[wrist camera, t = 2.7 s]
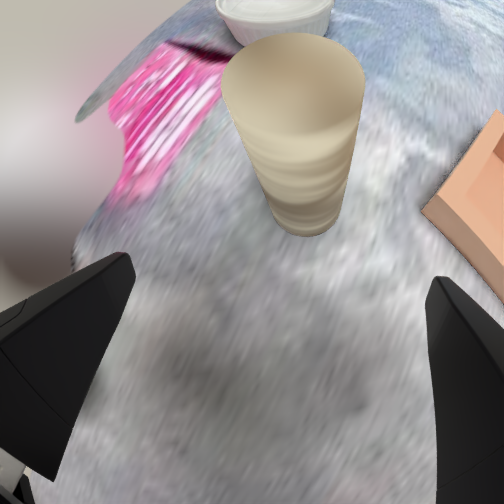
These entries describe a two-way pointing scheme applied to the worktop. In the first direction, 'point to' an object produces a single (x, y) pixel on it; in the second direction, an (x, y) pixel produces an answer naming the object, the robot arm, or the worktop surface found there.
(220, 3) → the ramekin
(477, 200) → the tray
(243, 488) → the worktop surface
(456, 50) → the worktop surface
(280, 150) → the vase
